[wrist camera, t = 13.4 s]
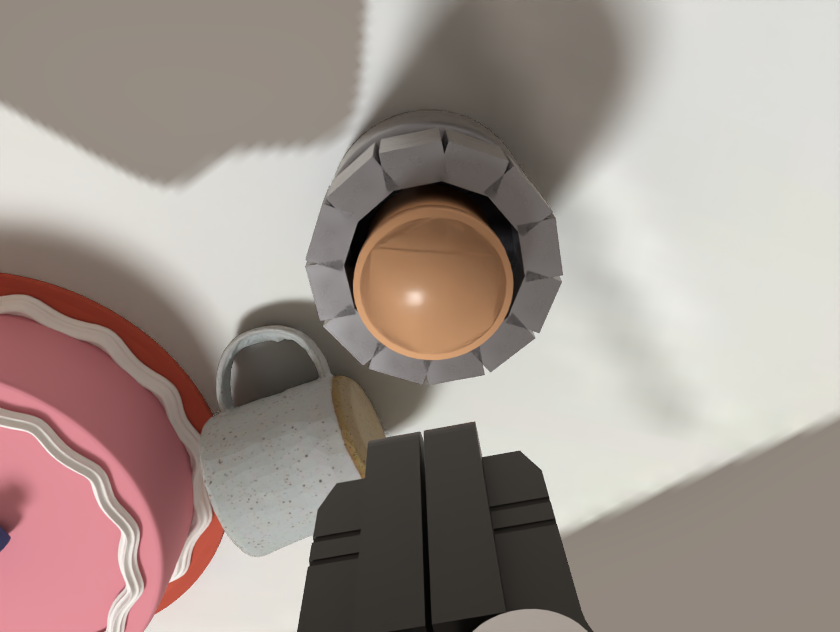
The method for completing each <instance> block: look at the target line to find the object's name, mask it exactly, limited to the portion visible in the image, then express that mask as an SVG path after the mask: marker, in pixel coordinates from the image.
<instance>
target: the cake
mask: <svg viewBox="0 0 840 632" xmlns="http://www.w3.org/2000/svg"><path fill="white" fill-rule="evenodd" d="M211 417H213V414H212V412H211V410H210V408H209V407H208V405H207V403H206V401H205V400H204V398H203V396H202V395H201V393H200V392H199V390H198V389H197V387H196V386H195V384H194V383H193V382H192V380H191V379H190V378H189V376H188V375H187V374H186V373H185V372H184V370H183V369H182V368H181V367H180V366H179V365H178V363H177V362H176V361H175V360H174V359H173V358H172V357H171V356H170V355H169V354H168V353H167V352H166V351H165V350H164V349H163V348H162V347H161V346H160V345H158V344H157V343H156V342H155V341H154V340H153V339H151V338H150V337H149V336H148V335H147V334H145V333H144V332H143V331H141V330H140V329H139V328H137V327H136V326H135V325H133V324H132V323H130V322H129V321H127V320H126V319H124V318H123V317H121V316H120V315H118V314H116V313H115V312H113V311H111V310H110V309H108V308H106V307H104V306H102V305H100V304H98V303H96V302H94V301H92V300H90V299H88V298H86V297H84V296H82V295H79V294H77V293H74V292H72V291H69V290H67V289H64V288H61V287H58V286H56V285H52V284H49V283H46V282H43V281H39V280H35V279H31V278H27V277H22V276H17V275H11V274H5V273H0V632H144V630H145V629H146V627H147V626H148V624H149V623H150V621H151V619H152V618H153V616H154V614H156V613H158V612H160V611H161V610H163V609H164V608H166V607H167V606H169V605H170V604H171V603H173V602H174V601H175V600H177V599H178V598H179V597H180V596H181V595H182V594H184V593H185V592H186V591H187V590H188V589H189V588H190V587H191V586H192V585H193V584H194V582H195V581H196V580H197V579H198V578H199V576H200V575H201V574H202V573H203V571H204V570H205V568H206V567H207V565H208V564H209V563H210V561H211V559H212V558H213V556H214V554H215V552H216V550H217V548H218V546H219V544H220V542H221V539H222V536H223V534H224V529H223V527H222V525H221V524H220V522H219V520H218V518H217V516H216V514H215V512H214V510H213V507H212V504H211V502H210V499H209V496H208V492H207V489H206V487H205V484H204V479H203V475H202V470H201V462H200V436H201V433H202V429H203V427H204V425H205V423H206V422H207V421H208V420H209V419H210V418H211Z"/></svg>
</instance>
